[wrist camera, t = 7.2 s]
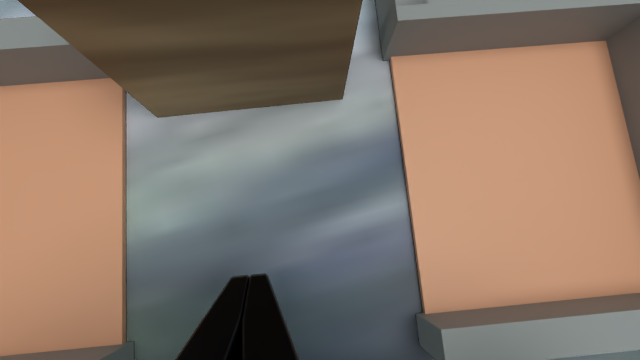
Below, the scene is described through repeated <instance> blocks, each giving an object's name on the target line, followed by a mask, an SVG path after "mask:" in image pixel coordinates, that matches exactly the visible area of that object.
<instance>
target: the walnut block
mask: <svg viewBox="0 0 640 360" xmlns="http://www.w3.org/2000/svg"><path fill="white" fill-rule="evenodd" d="M18 1H19V2H20V3H22V4H23V5H24V6H25V7H26V8H28V9H29V10H30V11H31V12H32V13H34V14H35V15H36V16H37V17H38V18H39V19H41V20H42V21H43V22H44V23H45V24H47V25H48V26H49V27H50V28H51V29H53V30H54V31H55V32H56V33H57V34H59V35H60V36H61V37H62V38H63V39H65V40H66V41H67V42H68V43H69V44H71V45H72V46H73V47H74V48H75V49H76V50H78V51H79V52H80V53H81V54H82V55H84V56H85V57H86V58H87V59H88V60H90V61H91V62H92V63H93V64H94V65H96V66H97V67H98V68H99V69H100V70H102V71H103V72H104V73H105V74H106V75H108V76H109V77H110V78H111V79H112V80H113V81H115V82H116V83H117V84H118V85H119V86H121V87H122V88H123V89H124V90H125V91H127V92H128V93H129V94H130V95H131V96H133V97H134V98H135V99H136V100H137V101H139V102H140V103H141V104H142V105H143V106H145V107H146V108H147V109H148V110H149V111H151V112H152V113H153V114H154V115H155V116H156V117H158V118H159V117H169V116H179V115H189V114H199V113H209V112H219V111H229V110H239V109H249V108H259V107H269V106H279V105H289V104H299V103H309V102H320V101H330V100H340V99H343V94H344V89H345V84H346V79H347V74H348V69H349V64H350V60H351V55H352V50H353V45H354V40H355V35H356V30H357V25H358V20H359V15H360V10H361V5H362V0H18Z"/></svg>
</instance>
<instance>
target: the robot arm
mask: <svg viewBox="0 0 640 360" xmlns="http://www.w3.org/2000/svg"><path fill="white" fill-rule="evenodd" d="M175 360H299V358H298V356H297V353H296V350H295V347H294V345H293V342H292V339H291V337H290V334H289V331H288V329H287V326H286V323H285V320H284V318H283V315H282V312H281V310H280V307H279V304H278V302H277V299H276V296H275V293H274V291H273V288H272V285H271V283H270V280H269V277H268V275H267V274H265V273H264V274H253V275H251V276H250V277H249V276H248V275H242V276H233V277H232V278H231V279H230V280H229V282H228V283H227V284H226V286H225V287H224V289H223V290H222V292H221V293H220V295H219V296H218V298H217V299H216V301H215V302H214V304H213V305H212V307H211V308H210V309H209V311H208V312H207V314H206V315H205V317H204V318H203V320H202V321H201V323H200V324H199V326H198V327H197V329H196V330H195V332H194V333H193V334H192V336H191V337H190V339H189V340H188V342H187V343H186V345H185V346H184V348H183V349H182V351H181V352H180V354H179V355H178V357H177V358H176V359H175Z"/></svg>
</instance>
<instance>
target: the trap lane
mask: <svg viewBox="0 0 640 360" xmlns="http://www.w3.org/2000/svg"><path fill="white" fill-rule="evenodd" d="M375 3H376V11H377V18H378V26H379V34H380V42H381V49H382V57H383V61H385V60H390V67H391V74H392V82H393V89H394V97H395V104H396V112H397V119H398V127H399V135H400V142H401V150H402V157H403V165H404V172H405V180H406V187H407V195H408V202H409V210H410V217H411V225H412V232H413V240H414V248H415V255H416V263H417V270H418V278H419V285H420V293H421V300H422V308H423V313H416V320H417V328H418V335H419V343H420V346H421V347H422V348H423V349H424V350H425V351H426V352H427V353H429V354H430V355H431V356H432V357H433V358H434V359H435V360H548V359H558V358H567V357H577V356H586V355H596V354H605V353H615V352H624V351H634V350H640V0H375ZM0 360H134V341H133V342H126V91H125V90H124V89H123V88H122V87H121V86H119V85H118V84H117V83H116V82H115V81H113V80H112V79H111V78H110V77H109V76H108V75H106V74H105V73H104V72H103V71H102V70H100V69H99V68H98V67H97V66H96V65H94V64H93V63H92V62H91V61H90V60H88V59H87V58H86V57H85V56H84V55H82V54H81V53H80V52H79V51H78V50H76V49H75V48H74V47H73V46H72V45H71V44H69V43H68V42H67V41H66V40H65V39H63V38H62V37H61V36H60V35H59V34H57V33H56V32H55V31H54V30H53V29H51V28H50V27H49V26H48V25H47V24H45V23H44V22H43V21H42V20H41V19H39V18H38V17H37V16H35V17H20V18H6V19H0Z"/></svg>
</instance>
